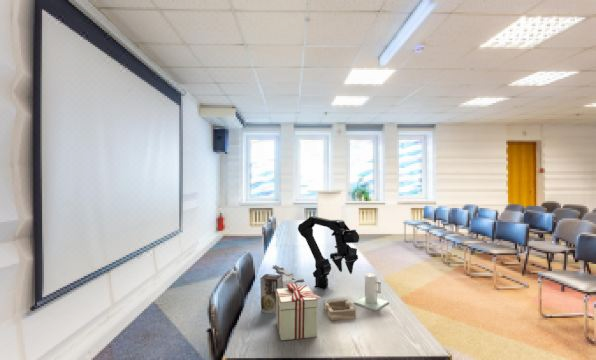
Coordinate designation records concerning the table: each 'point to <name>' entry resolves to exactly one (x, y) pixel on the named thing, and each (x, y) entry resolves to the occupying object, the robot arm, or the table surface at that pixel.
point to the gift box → (296, 312)
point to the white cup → (286, 281)
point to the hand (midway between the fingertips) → (345, 272)
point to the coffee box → (269, 292)
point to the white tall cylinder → (371, 288)
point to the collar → (339, 314)
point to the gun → (287, 274)
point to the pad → (374, 307)
